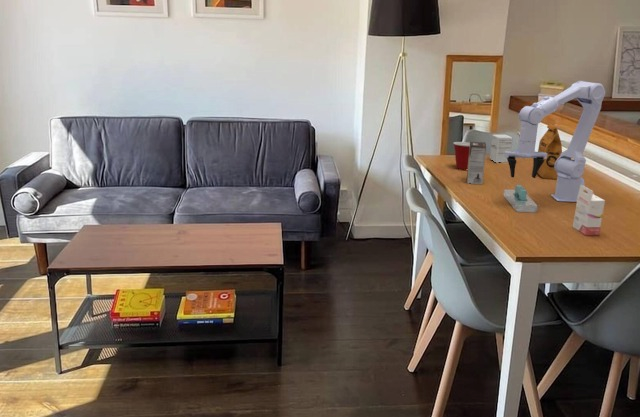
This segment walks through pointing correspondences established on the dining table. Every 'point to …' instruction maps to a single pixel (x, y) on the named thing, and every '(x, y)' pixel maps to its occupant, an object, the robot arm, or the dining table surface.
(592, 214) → the ink cartridge box
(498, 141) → the supplement box
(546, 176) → the coffee package
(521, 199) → the teal rectangular plank
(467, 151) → the plastic cup
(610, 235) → the dining table surface
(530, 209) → the white slotted slab
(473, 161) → the coffee box
